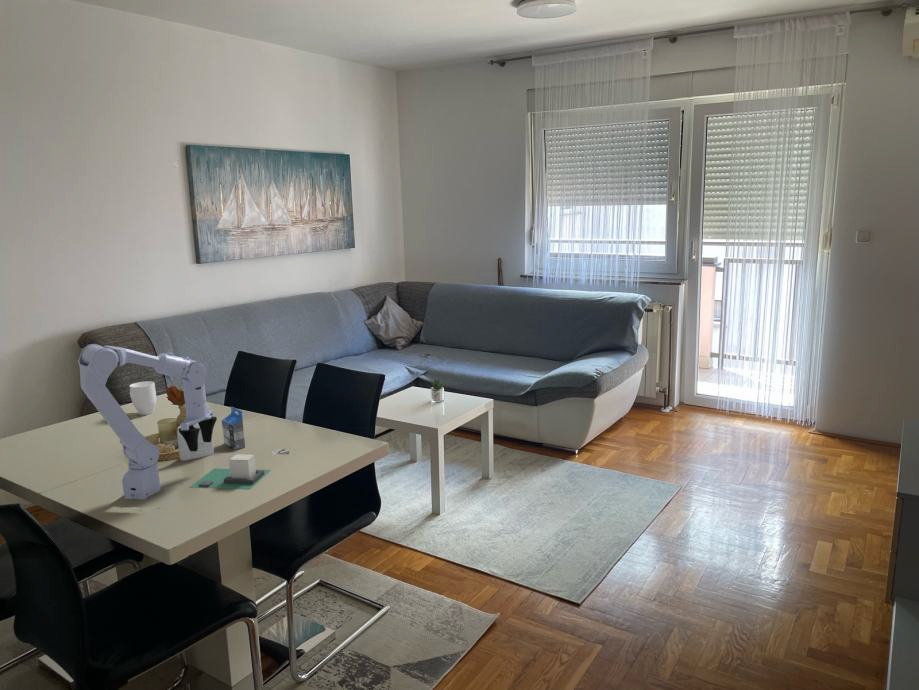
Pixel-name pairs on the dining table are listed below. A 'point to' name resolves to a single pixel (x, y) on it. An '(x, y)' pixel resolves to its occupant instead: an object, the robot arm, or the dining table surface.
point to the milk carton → (233, 429)
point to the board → (227, 480)
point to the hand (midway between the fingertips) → (200, 446)
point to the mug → (143, 397)
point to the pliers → (280, 451)
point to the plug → (242, 466)
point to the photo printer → (203, 447)
